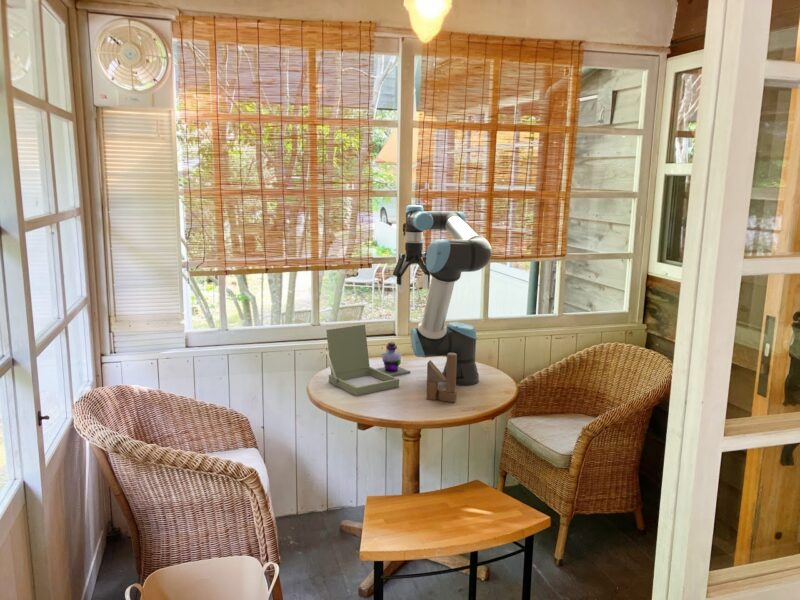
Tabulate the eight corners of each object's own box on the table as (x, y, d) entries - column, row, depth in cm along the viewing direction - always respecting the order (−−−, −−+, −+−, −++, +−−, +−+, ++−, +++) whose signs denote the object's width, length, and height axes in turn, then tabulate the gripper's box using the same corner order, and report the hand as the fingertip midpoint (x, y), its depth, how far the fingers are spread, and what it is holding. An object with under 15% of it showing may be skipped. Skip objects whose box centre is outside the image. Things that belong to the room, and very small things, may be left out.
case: (398, 386, 246) (399, 335, 242) (354, 396, 234) (354, 342, 230) (365, 371, 265) (365, 323, 261) (322, 380, 252) (322, 330, 249)
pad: (410, 373, 264) (410, 371, 264) (389, 377, 257) (389, 375, 257) (394, 366, 272) (394, 365, 272) (373, 370, 266) (373, 369, 266)
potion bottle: (400, 373, 260) (401, 345, 258) (379, 372, 261) (380, 344, 258) (402, 367, 268) (402, 340, 266) (382, 366, 269) (382, 339, 267)
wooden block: (428, 396, 235) (430, 349, 232) (456, 400, 232) (458, 352, 229) (426, 399, 232) (427, 352, 229) (454, 403, 229) (456, 355, 225)
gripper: (430, 240, 279) (429, 287, 283) (385, 242, 264) (384, 291, 268) (441, 241, 273) (440, 289, 277) (395, 243, 258) (394, 294, 262)
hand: (412, 290), depth 272 cm, fingers open, 13 cm apart
